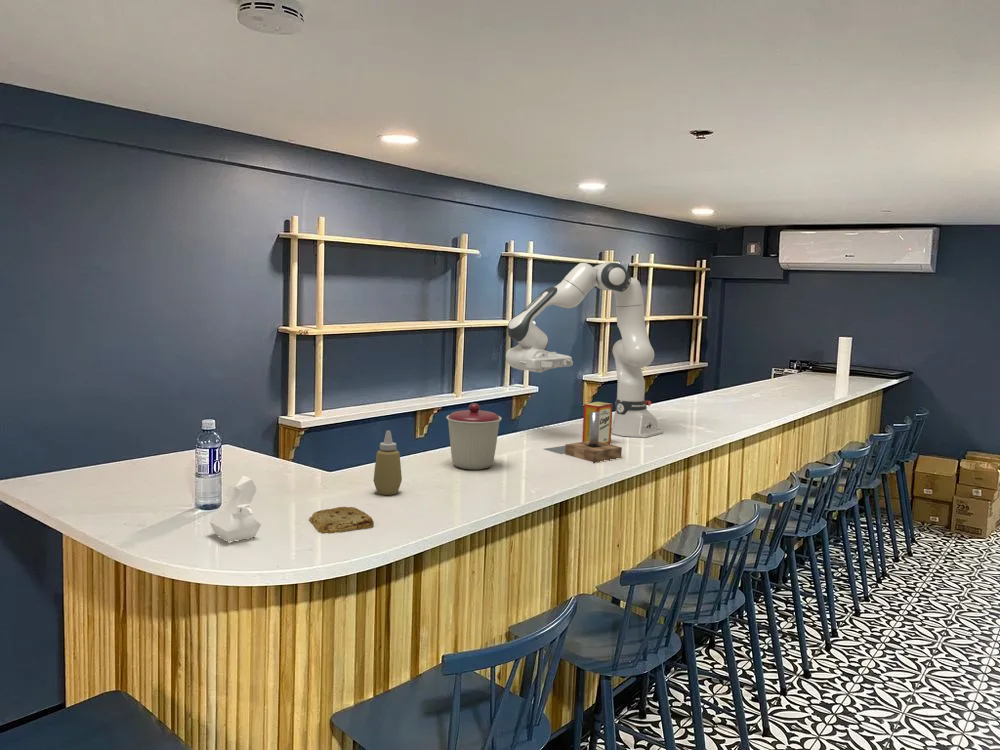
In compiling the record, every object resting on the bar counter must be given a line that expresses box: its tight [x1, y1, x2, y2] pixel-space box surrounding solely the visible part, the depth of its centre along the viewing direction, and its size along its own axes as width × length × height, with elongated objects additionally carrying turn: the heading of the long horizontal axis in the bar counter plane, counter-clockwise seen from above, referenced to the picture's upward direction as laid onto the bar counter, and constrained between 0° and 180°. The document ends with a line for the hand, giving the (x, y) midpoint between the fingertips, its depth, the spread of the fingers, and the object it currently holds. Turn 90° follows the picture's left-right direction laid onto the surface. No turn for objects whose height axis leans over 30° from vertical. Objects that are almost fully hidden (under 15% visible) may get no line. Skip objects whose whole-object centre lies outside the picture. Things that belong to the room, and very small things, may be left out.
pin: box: [589, 412, 600, 448], centre depth 280 cm, size 3×3×16 cm
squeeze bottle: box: [373, 430, 403, 496], centre depth 225 cm, size 8×8×18 cm
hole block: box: [564, 441, 622, 464], centre depth 281 cm, size 14×14×4 cm
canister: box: [445, 402, 502, 471], centre depth 260 cm, size 18×18×21 cm
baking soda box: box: [581, 401, 613, 445], centre depth 302 cm, size 10×6×16 cm
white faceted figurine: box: [208, 475, 262, 542], centre depth 184 cm, size 8×14×14 cm, turn 44°
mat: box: [543, 445, 565, 455], centre depth 290 cm, size 12×10×1 cm
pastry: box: [308, 506, 375, 534], centre depth 197 cm, size 17×17×3 cm
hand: (562, 364), depth 294 cm, fingers open, 8 cm apart
